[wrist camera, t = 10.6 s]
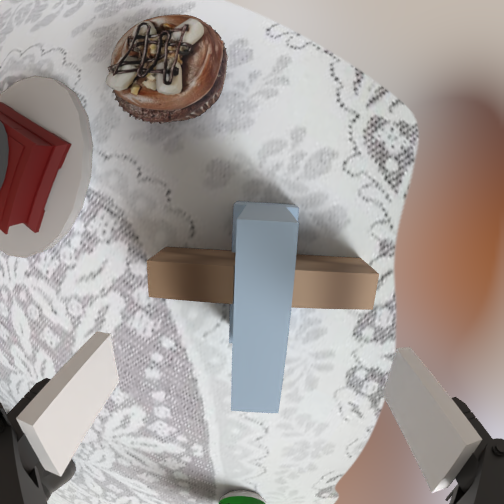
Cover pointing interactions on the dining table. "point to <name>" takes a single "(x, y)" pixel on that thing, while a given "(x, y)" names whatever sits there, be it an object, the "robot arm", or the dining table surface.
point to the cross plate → (261, 302)
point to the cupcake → (168, 69)
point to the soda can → (241, 498)
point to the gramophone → (41, 164)
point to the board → (223, 278)
